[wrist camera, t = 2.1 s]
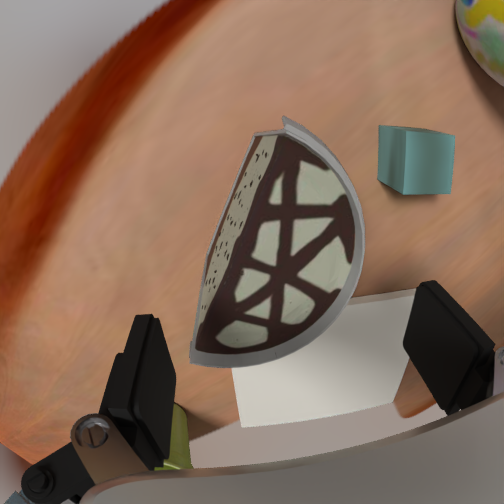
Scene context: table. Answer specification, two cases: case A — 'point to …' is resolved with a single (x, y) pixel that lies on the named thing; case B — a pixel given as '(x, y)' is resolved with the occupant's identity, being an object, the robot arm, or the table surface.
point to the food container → (279, 253)
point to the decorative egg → (483, 33)
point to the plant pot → (178, 443)
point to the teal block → (415, 160)
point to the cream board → (332, 367)
